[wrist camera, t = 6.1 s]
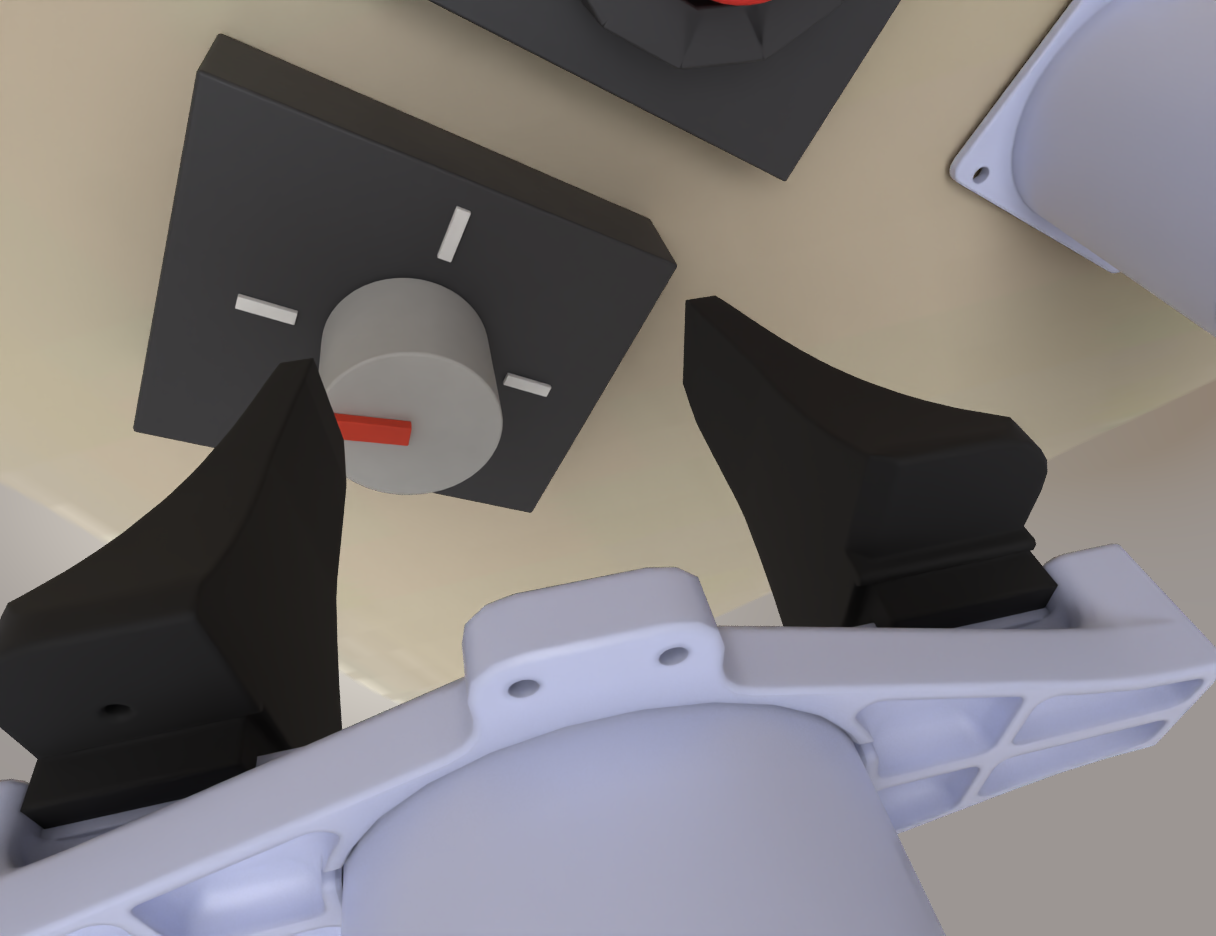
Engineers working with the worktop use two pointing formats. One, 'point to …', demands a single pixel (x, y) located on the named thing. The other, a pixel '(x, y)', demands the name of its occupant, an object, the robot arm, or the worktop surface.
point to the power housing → (704, 60)
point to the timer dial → (410, 386)
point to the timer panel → (382, 260)
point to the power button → (741, 2)
